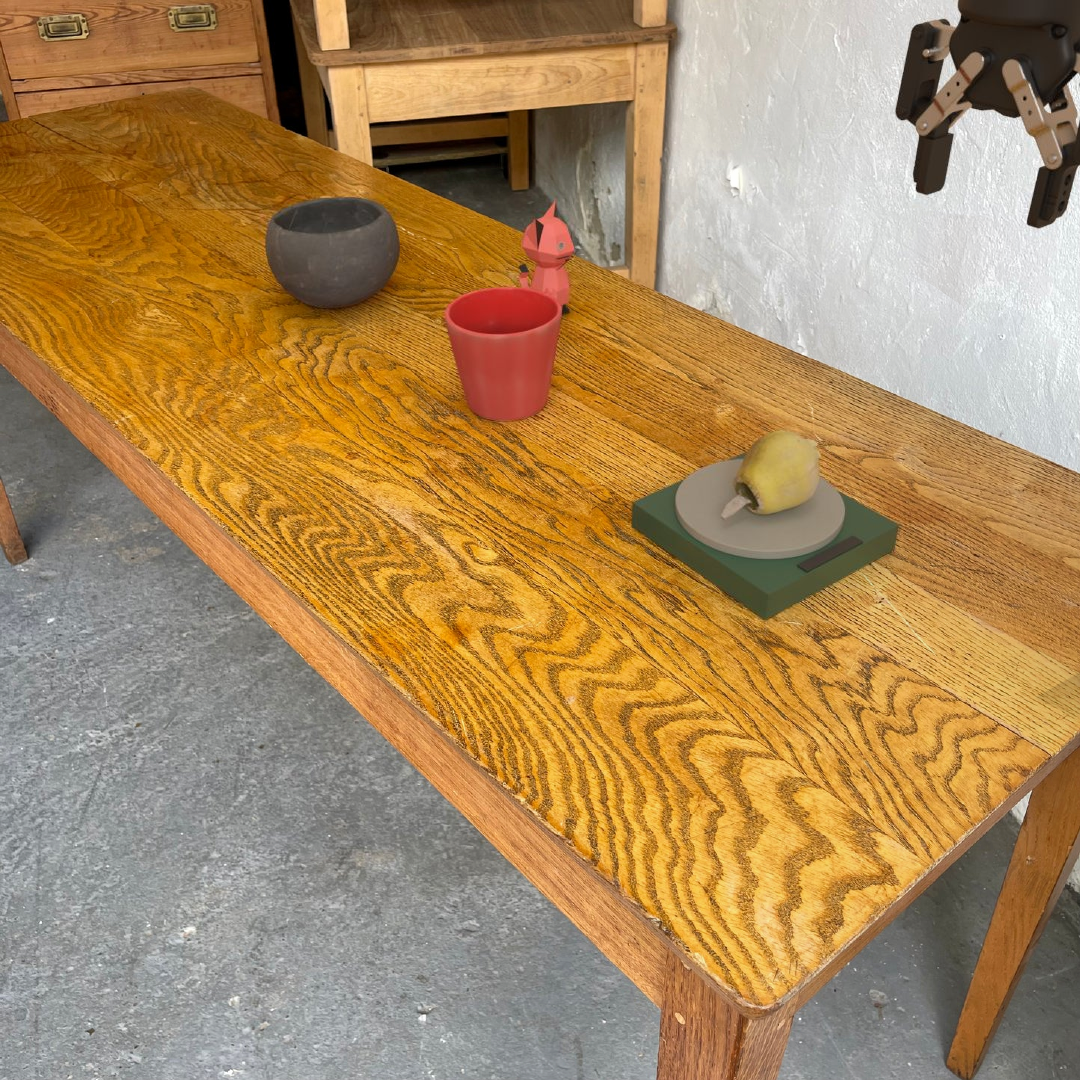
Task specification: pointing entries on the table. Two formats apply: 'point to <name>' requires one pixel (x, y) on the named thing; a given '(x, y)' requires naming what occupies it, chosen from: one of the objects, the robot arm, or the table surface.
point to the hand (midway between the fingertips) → (982, 207)
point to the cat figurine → (548, 256)
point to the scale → (762, 538)
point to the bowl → (332, 250)
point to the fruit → (776, 474)
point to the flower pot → (504, 349)
